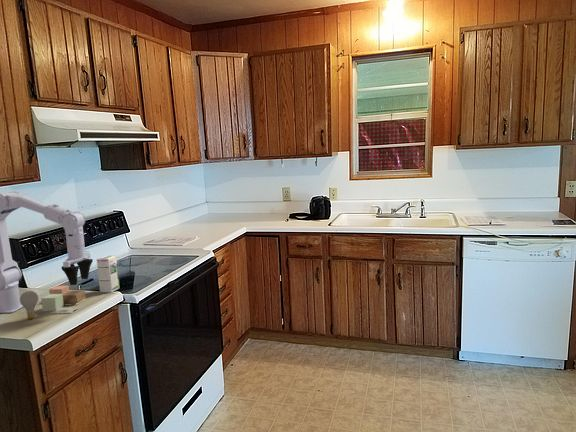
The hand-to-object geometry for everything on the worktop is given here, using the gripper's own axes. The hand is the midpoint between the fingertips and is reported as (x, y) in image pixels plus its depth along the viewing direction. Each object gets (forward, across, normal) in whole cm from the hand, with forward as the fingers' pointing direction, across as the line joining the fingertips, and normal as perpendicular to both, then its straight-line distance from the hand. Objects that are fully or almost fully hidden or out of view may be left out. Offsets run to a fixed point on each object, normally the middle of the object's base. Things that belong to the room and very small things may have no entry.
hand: (79, 281), depth 154 cm
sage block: (+10, 0, +11) cm, 15 cm away
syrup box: (+10, +22, 0) cm, 24 cm away
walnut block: (+10, +7, +7) cm, 14 cm away
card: (+10, -3, +4) cm, 11 cm away
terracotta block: (+10, +11, +15) cm, 21 cm away
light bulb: (+10, -10, +13) cm, 19 cm away
